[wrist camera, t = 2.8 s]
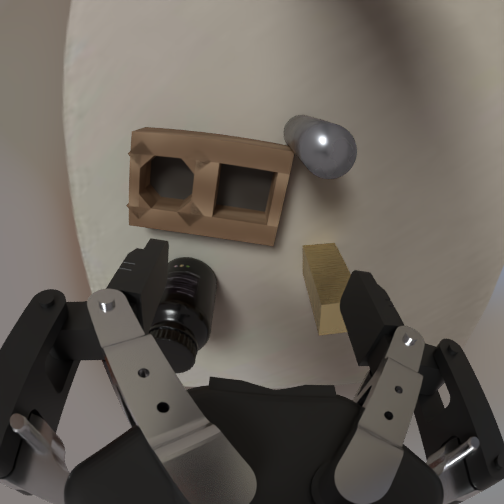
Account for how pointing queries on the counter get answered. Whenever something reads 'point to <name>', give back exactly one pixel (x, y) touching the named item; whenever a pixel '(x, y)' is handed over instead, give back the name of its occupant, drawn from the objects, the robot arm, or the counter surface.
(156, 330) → the supplement bottle
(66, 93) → the counter surface
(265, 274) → the counter surface
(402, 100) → the counter surface
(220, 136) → the bore block
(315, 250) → the square bit
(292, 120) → the cylinder
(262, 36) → the counter surface
